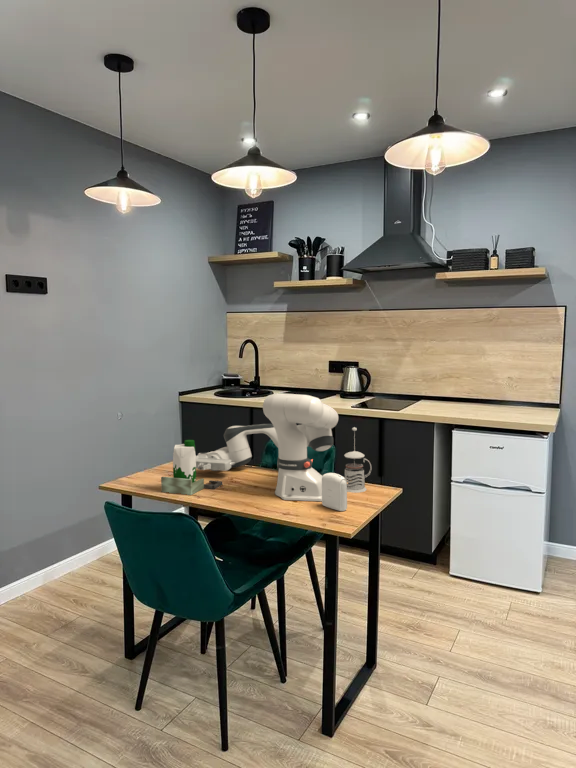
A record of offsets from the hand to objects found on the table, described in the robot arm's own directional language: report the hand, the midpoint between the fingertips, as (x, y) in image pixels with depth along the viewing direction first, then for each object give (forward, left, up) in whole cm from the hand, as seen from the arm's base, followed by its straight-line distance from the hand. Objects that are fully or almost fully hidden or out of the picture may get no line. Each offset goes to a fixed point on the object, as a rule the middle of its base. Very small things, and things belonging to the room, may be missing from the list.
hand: (200, 468), depth 227 cm
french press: (-66, -8, -6) cm, 67 cm away
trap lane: (-1, +12, -5) cm, 13 cm away
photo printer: (-64, +18, -6) cm, 67 cm away
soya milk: (-1, +15, -6) cm, 16 cm away
